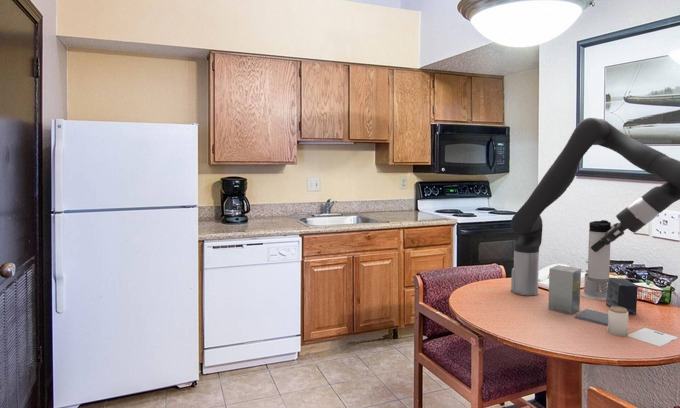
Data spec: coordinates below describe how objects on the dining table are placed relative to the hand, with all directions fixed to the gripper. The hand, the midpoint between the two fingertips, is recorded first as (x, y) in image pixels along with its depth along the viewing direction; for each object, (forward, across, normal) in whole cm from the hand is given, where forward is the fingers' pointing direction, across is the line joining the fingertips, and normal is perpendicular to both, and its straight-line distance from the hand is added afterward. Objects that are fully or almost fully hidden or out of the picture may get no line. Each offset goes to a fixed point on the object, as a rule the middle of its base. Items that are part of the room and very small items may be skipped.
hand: (593, 247), depth 149 cm
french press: (+17, -28, +17) cm, 37 cm away
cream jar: (+12, +11, +22) cm, 28 cm away
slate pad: (+16, 0, +18) cm, 24 cm away
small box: (+11, -14, +23) cm, 29 cm away
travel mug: (+7, 0, +9) cm, 11 cm away
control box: (+23, -4, +11) cm, 26 cm away
